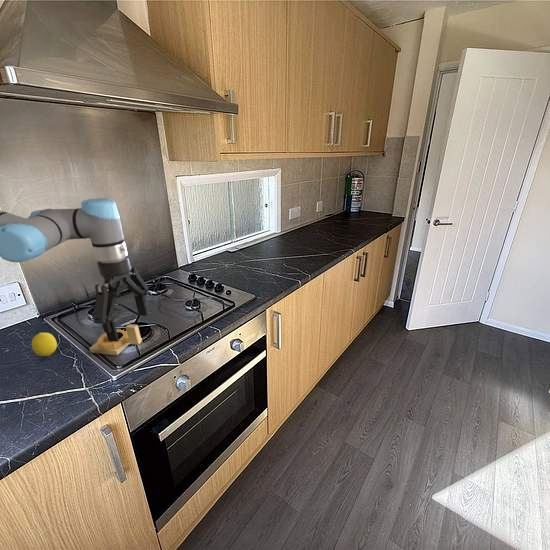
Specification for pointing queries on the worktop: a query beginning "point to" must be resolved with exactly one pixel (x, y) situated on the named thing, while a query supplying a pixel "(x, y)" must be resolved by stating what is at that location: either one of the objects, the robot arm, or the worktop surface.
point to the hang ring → (122, 338)
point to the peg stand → (114, 351)
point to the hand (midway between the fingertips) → (129, 326)
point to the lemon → (44, 344)
